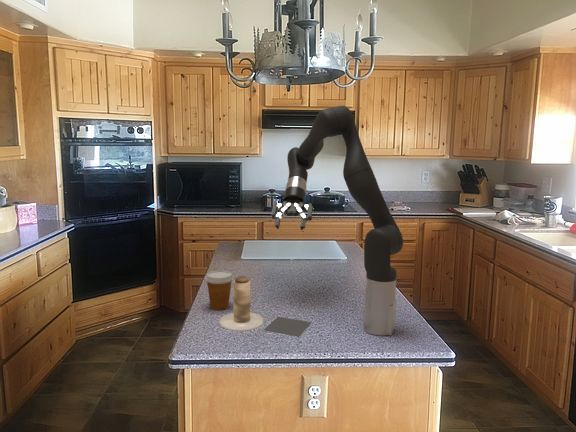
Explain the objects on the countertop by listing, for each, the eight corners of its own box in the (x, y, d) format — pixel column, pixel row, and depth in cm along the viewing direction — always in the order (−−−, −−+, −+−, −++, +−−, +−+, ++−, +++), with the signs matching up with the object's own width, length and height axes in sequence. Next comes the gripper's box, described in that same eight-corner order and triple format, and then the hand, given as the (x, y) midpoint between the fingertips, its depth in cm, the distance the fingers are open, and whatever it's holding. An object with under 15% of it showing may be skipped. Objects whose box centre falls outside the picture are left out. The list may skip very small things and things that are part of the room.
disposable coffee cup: (203, 303, 169) (203, 271, 167) (229, 300, 173) (229, 269, 171) (209, 313, 160) (208, 279, 158) (236, 309, 164) (236, 276, 162)
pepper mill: (253, 318, 154) (253, 276, 151) (245, 324, 149) (245, 281, 146) (238, 315, 156) (238, 274, 153) (230, 321, 151) (230, 279, 148)
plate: (270, 319, 156) (270, 315, 156) (251, 335, 143) (251, 331, 143) (232, 312, 161) (232, 309, 161) (211, 327, 148) (211, 324, 148)
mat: (311, 323, 153) (311, 322, 153) (299, 338, 142) (299, 336, 142) (278, 318, 157) (278, 316, 157) (263, 331, 146) (263, 330, 146)
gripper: (275, 184, 170) (267, 221, 161) (313, 185, 167) (308, 223, 158) (278, 197, 176) (271, 233, 167) (315, 198, 173) (310, 235, 164)
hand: (289, 228), depth 162 cm, fingers open, 8 cm apart
